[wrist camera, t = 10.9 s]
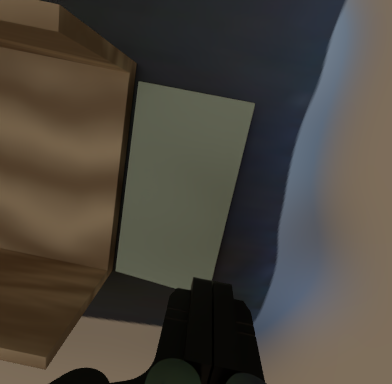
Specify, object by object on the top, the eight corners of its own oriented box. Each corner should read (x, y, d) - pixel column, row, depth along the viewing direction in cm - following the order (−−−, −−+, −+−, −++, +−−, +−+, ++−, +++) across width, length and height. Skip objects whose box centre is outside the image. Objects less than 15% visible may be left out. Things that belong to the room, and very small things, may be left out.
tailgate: (138, 81, 19) (255, 103, 18) (146, 84, 21) (254, 105, 20) (115, 271, 24) (207, 297, 23) (123, 262, 26) (209, 287, 25)
